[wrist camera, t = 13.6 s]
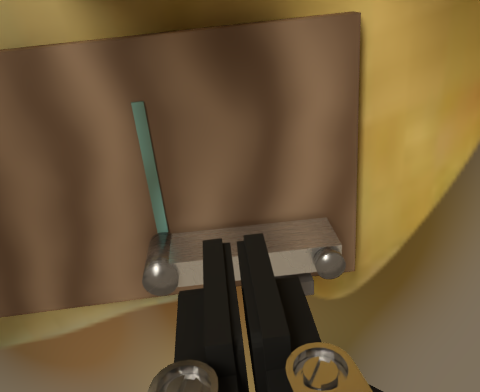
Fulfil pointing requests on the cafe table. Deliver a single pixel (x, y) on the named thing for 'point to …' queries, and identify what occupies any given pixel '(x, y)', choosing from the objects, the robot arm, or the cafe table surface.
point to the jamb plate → (169, 149)
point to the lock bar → (277, 241)
